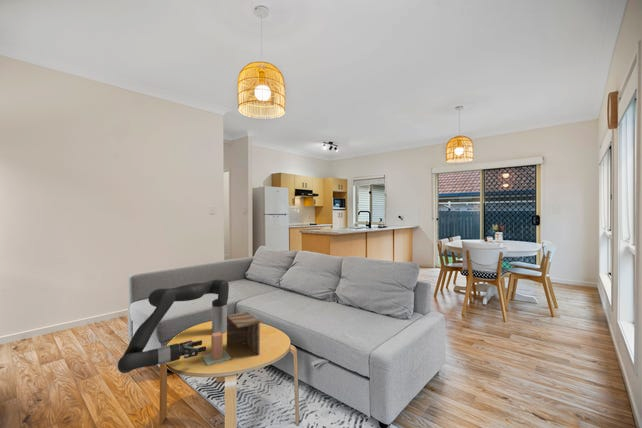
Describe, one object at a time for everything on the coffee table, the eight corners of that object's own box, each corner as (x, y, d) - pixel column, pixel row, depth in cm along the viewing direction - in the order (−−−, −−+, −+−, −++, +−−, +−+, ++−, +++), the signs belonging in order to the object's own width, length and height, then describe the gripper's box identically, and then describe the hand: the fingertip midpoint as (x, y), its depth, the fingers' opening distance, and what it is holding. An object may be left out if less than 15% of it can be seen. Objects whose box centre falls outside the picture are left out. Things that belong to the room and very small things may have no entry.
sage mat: (202, 356, 154) (202, 355, 154) (225, 350, 161) (225, 349, 161) (207, 365, 145) (207, 364, 145) (231, 358, 152) (231, 357, 152)
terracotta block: (211, 356, 153) (211, 333, 153) (220, 354, 156) (220, 331, 156) (213, 360, 149) (213, 336, 150) (222, 357, 152) (222, 334, 152)
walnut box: (226, 347, 165) (226, 315, 166) (247, 342, 172) (247, 311, 172) (237, 361, 150) (237, 326, 150) (259, 354, 156) (259, 321, 157)
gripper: (170, 351, 133) (207, 342, 143) (166, 340, 145) (200, 333, 154) (170, 367, 133) (207, 358, 143) (166, 355, 145) (200, 347, 154)
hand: (203, 345), depth 149 cm, fingers open, 8 cm apart
